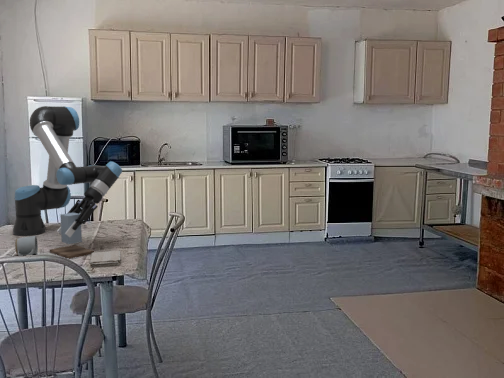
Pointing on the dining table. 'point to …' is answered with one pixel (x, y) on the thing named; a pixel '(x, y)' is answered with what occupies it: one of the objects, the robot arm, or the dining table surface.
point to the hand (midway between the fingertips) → (63, 234)
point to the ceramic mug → (26, 246)
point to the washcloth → (105, 259)
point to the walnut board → (71, 251)
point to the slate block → (65, 225)
